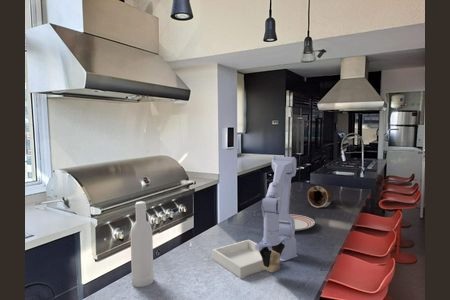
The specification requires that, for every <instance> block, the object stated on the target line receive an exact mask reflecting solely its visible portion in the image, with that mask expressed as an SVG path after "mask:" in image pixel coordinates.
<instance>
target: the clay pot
mask: <svg viewBox="0 0 450 300" xmlns="http://www.w3.org/2000/svg"><path fill="white" fill-rule="evenodd" d="M307 199H308V202H309V204H310V206H312V207H314V208H319V209H320V208H327V207H328V206H329V205H330V204H331V203H332V201H333V199H334V193H333V192H332V190H331V189H330V188H328V187H326V186H324V185H314V186H312V187H310V188H309V189H308V191H307ZM322 200H323V201H322Z"/></svg>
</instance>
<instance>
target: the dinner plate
mask: <svg viewBox="0 0 450 300" xmlns="http://www.w3.org/2000/svg"><path fill="white" fill-rule="evenodd" d="M289 215H290V216H291V217H292V218H293V219H294V221H295V232H297V231H298V232H299V231H304V230H308V229H310V228H312V227H314V225H315V224H316V221H315V220H314V219H313V218H311V217H308V216H305V215H300V214H290V213H289ZM281 222H287V221H281Z"/></svg>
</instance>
